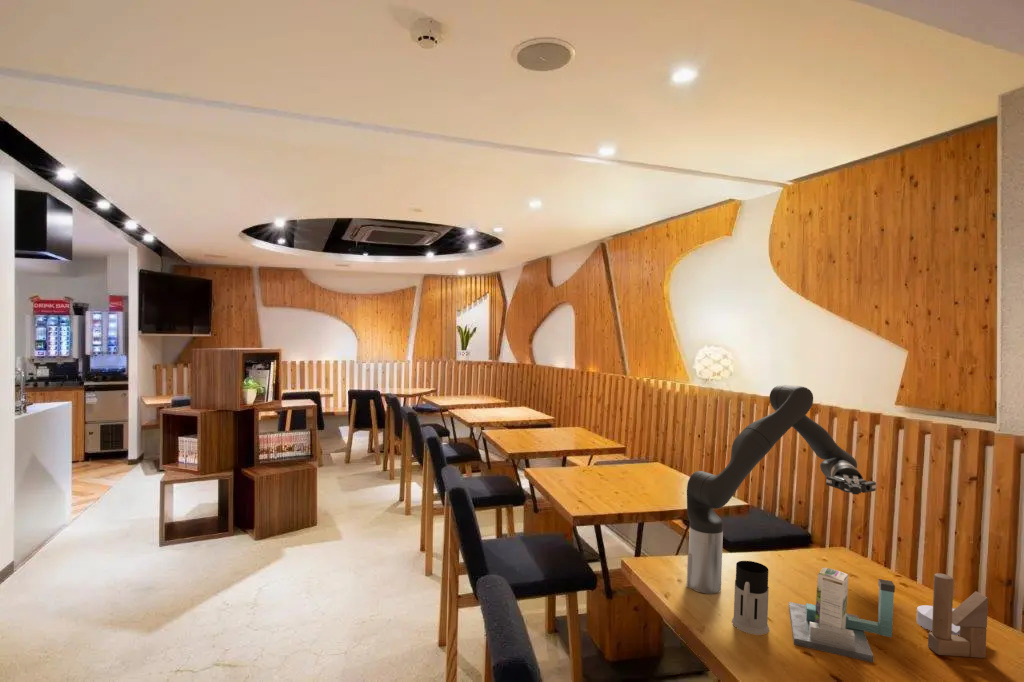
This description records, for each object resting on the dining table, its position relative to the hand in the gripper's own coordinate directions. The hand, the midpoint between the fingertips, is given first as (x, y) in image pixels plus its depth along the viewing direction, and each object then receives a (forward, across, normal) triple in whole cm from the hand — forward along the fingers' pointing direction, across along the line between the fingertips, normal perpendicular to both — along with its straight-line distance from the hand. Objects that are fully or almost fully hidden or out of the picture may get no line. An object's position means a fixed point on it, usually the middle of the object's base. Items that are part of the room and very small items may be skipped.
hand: (855, 490), depth 149 cm
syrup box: (+22, -8, +31) cm, 38 cm away
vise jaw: (+16, -3, +30) cm, 35 cm away
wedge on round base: (+4, +20, +32) cm, 38 cm away
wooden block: (+15, +19, +32) cm, 40 cm away
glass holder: (+27, -26, +32) cm, 49 cm away
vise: (+19, -8, +32) cm, 38 cm away
